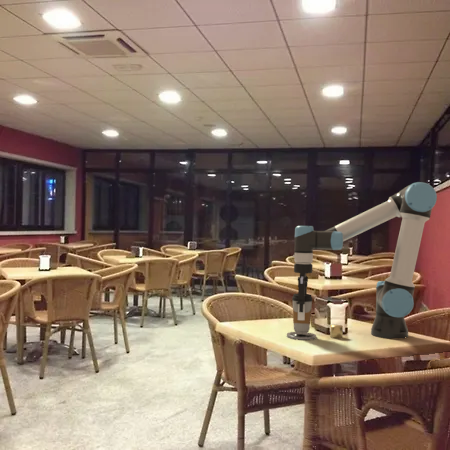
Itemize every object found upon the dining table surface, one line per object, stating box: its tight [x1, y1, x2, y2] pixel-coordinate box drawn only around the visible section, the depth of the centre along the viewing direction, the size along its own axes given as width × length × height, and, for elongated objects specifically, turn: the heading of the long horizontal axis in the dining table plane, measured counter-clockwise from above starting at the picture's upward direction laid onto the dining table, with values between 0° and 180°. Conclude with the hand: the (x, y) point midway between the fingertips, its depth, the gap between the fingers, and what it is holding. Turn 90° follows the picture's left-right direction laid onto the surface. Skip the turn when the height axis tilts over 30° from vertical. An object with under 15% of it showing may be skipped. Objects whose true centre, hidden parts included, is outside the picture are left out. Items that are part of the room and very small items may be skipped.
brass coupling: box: [329, 324, 344, 340], centre depth 218 cm, size 5×5×5 cm
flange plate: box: [286, 331, 317, 341], centre depth 218 cm, size 12×12×1 cm
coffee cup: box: [291, 293, 313, 333], centre depth 218 cm, size 8×8×15 cm
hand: (302, 318), depth 218 cm, fingers closed on coffee cup, 8 cm apart
